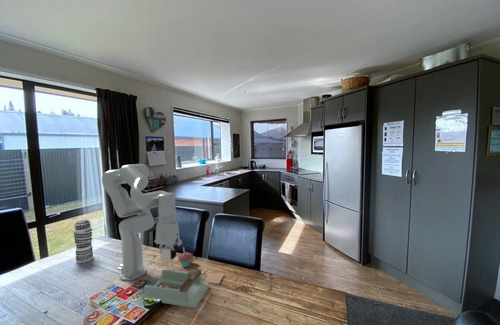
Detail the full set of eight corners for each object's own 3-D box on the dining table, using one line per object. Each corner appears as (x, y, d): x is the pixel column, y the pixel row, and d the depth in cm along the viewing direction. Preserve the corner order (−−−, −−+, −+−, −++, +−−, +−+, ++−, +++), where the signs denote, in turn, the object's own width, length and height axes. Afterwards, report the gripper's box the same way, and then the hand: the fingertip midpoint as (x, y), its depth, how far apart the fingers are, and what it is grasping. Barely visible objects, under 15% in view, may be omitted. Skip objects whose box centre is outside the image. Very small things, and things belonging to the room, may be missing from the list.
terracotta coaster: (203, 283, 106) (203, 281, 106) (210, 274, 114) (210, 272, 114) (218, 285, 105) (218, 283, 105) (224, 275, 112) (224, 274, 112)
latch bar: (180, 291, 90) (179, 280, 90) (195, 272, 104) (195, 262, 104) (186, 292, 89) (186, 281, 89) (201, 273, 103) (200, 263, 103)
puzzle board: (142, 300, 94) (142, 286, 94) (162, 281, 108) (161, 269, 108) (195, 308, 89) (195, 293, 89) (208, 287, 103) (208, 274, 102)
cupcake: (188, 269, 119) (188, 249, 118) (175, 268, 120) (174, 248, 120) (195, 261, 127) (195, 242, 127) (183, 260, 129) (182, 241, 128)
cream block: (161, 261, 97) (161, 248, 97) (167, 256, 102) (167, 244, 101) (170, 262, 96) (169, 249, 96) (175, 257, 101) (175, 245, 100)
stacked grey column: (92, 254, 139) (90, 217, 137) (94, 259, 132) (92, 220, 131) (75, 259, 132) (72, 220, 131) (75, 264, 126) (73, 224, 124)
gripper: (146, 220, 96) (147, 259, 97) (179, 222, 93) (180, 263, 93) (157, 215, 104) (158, 251, 105) (187, 217, 100) (188, 254, 101)
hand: (168, 256), depth 99 cm, fingers closed on cream block, 4 cm apart
